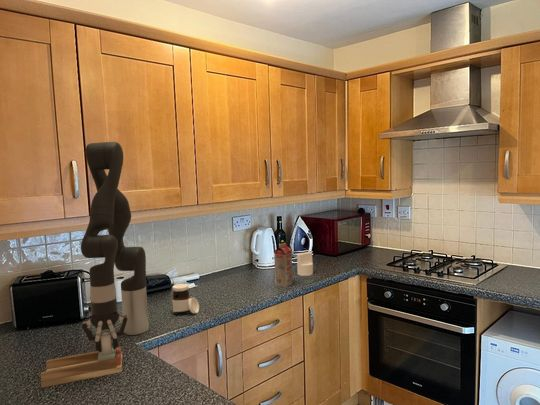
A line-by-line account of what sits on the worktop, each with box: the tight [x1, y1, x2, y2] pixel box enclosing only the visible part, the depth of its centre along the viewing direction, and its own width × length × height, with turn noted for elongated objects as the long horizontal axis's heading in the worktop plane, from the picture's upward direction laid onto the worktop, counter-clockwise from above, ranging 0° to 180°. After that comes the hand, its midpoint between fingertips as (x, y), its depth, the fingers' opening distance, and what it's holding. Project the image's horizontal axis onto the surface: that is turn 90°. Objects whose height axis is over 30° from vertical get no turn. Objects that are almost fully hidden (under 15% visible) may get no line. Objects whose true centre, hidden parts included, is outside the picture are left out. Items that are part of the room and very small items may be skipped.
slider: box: [98, 332, 116, 361], centre depth 124 cm, size 6×5×9 cm
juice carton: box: [273, 242, 294, 288], centre depth 206 cm, size 7×7×22 cm
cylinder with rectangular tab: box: [296, 251, 314, 277], centre depth 226 cm, size 9×9×12 cm
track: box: [40, 346, 123, 388], centre depth 122 cm, size 10×22×4 cm, turn 110°
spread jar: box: [171, 283, 200, 316], centre depth 171 cm, size 12×11×12 cm
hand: (107, 349), depth 124 cm, fingers open, 3 cm apart
